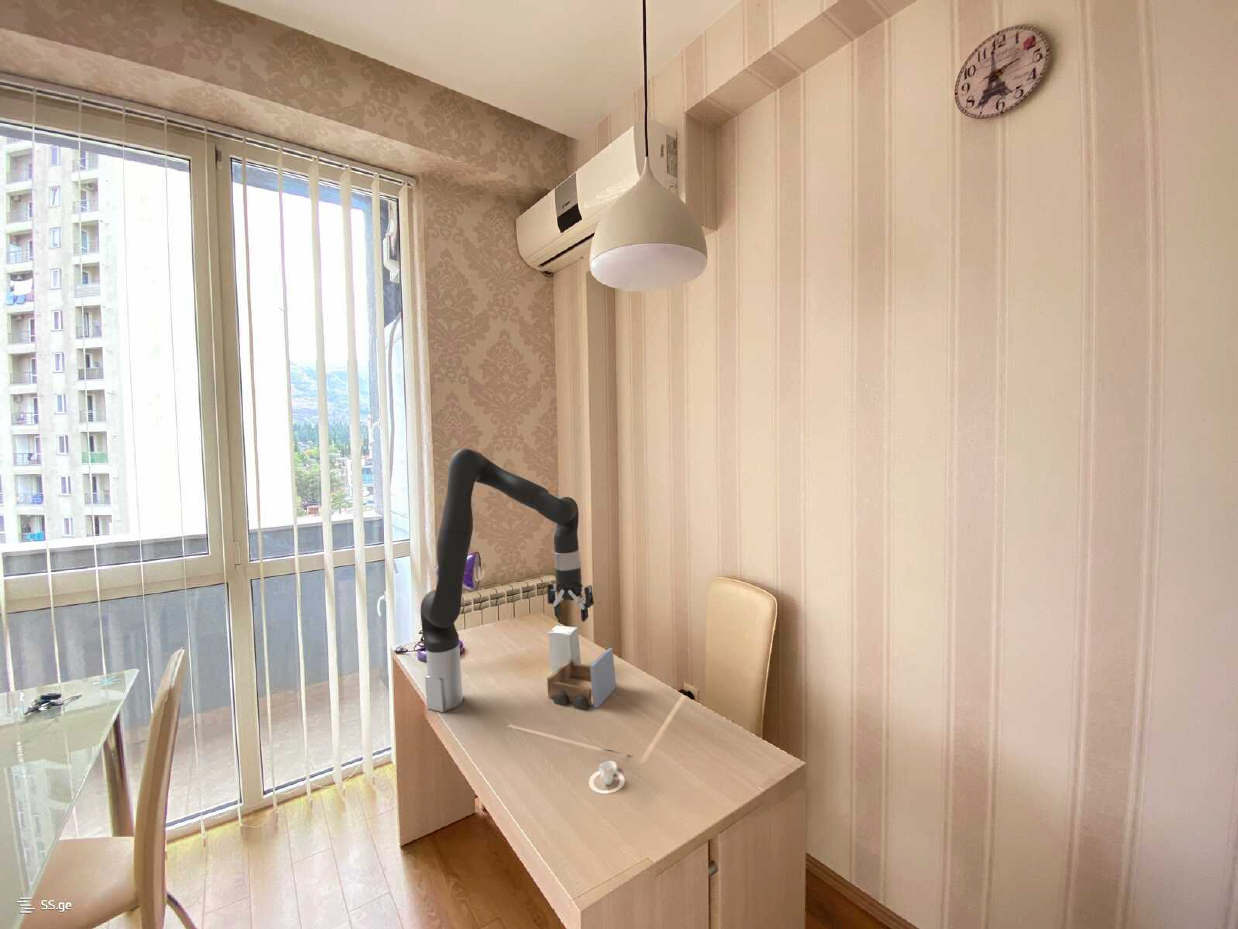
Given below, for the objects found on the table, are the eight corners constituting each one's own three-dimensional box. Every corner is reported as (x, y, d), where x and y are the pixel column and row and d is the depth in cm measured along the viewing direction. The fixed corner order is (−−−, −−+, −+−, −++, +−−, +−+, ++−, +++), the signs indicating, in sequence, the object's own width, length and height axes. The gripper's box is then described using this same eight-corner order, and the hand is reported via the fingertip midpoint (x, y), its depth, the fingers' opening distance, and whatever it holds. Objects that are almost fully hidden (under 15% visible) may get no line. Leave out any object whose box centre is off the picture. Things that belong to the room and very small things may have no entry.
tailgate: (597, 708, 141) (593, 666, 140) (593, 707, 141) (589, 665, 141) (616, 687, 152) (612, 648, 151) (612, 687, 152) (608, 648, 152)
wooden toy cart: (587, 714, 140) (586, 690, 139) (545, 704, 146) (543, 681, 145) (613, 686, 155) (612, 664, 154) (574, 678, 161) (572, 656, 160)
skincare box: (581, 671, 165) (579, 627, 164) (573, 680, 160) (570, 634, 158) (559, 667, 168) (557, 624, 167) (550, 676, 163) (547, 631, 162)
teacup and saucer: (607, 764, 119) (606, 748, 119) (634, 778, 114) (633, 761, 114) (581, 786, 113) (580, 768, 112) (608, 801, 107) (608, 783, 107)
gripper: (540, 567, 148) (544, 621, 150) (583, 570, 143) (587, 626, 144) (553, 560, 155) (557, 612, 157) (595, 563, 149) (598, 616, 151)
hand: (571, 619), depth 150 cm, fingers open, 8 cm apart
